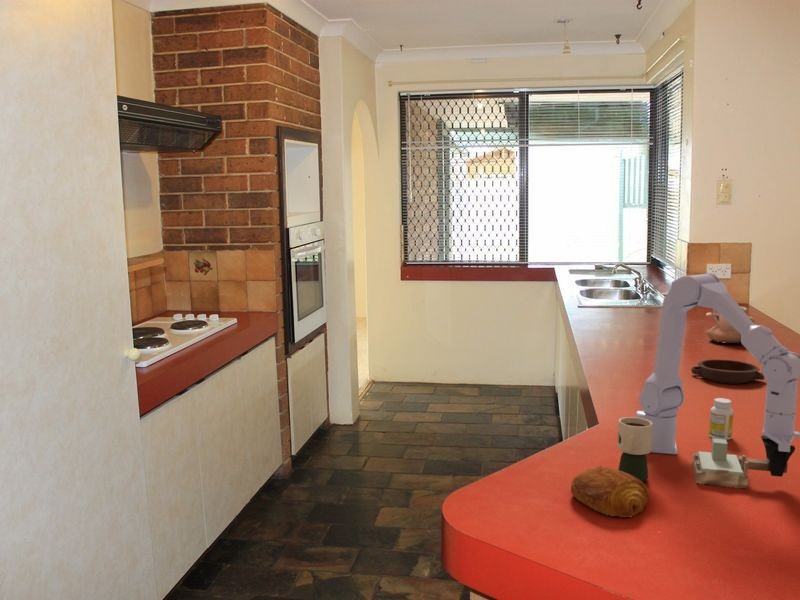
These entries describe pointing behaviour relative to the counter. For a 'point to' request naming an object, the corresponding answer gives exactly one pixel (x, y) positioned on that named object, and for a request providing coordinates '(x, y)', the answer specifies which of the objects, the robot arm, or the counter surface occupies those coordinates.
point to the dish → (727, 371)
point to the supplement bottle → (721, 419)
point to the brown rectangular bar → (760, 464)
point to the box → (721, 475)
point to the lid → (719, 459)
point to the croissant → (610, 491)
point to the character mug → (634, 445)
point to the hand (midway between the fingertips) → (775, 473)
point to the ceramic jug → (724, 329)
